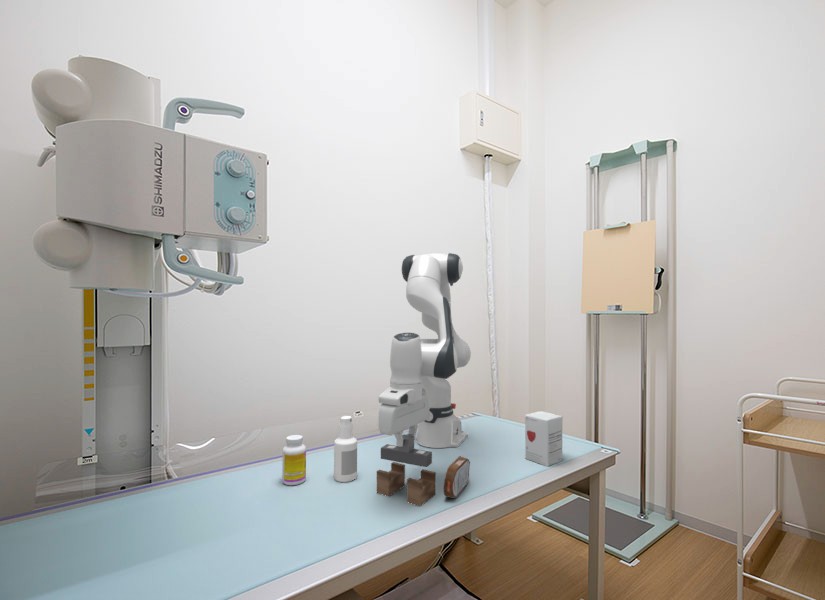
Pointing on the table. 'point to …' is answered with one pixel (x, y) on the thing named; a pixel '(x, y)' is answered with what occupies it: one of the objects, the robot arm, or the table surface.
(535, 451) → the supplement box
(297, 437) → the supplement bottle
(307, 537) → the table surface
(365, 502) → the table surface
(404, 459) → the power strip
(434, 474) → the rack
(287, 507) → the table surface
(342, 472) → the spray bottle
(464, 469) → the tin
